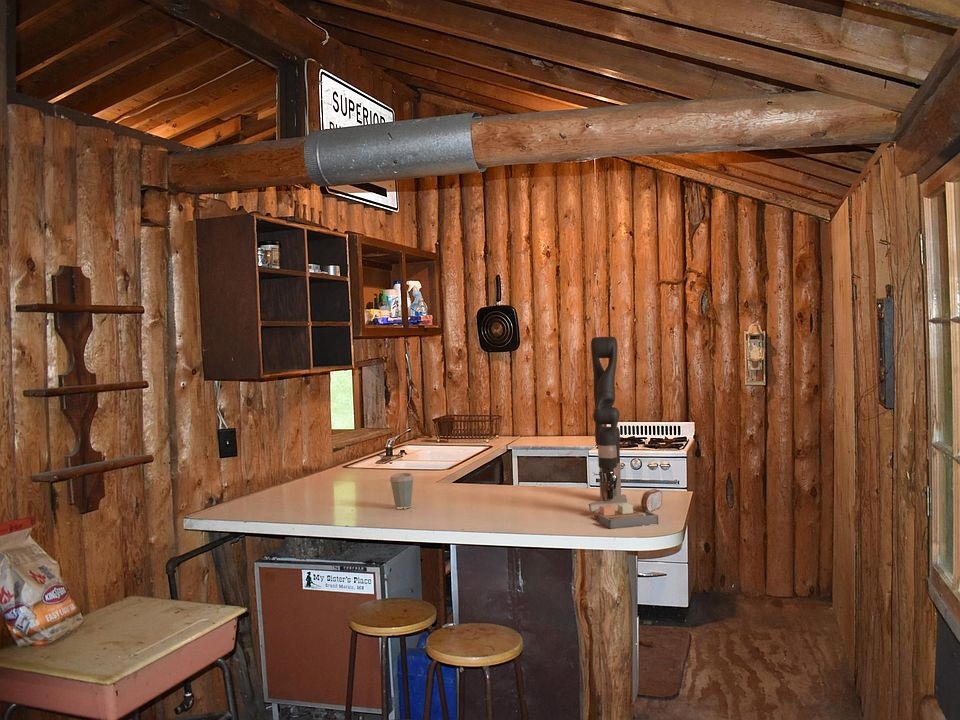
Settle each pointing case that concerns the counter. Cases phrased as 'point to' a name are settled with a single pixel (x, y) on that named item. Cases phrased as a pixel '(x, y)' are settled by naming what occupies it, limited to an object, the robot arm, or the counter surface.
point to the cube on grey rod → (606, 501)
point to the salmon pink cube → (606, 510)
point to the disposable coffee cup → (402, 489)
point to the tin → (651, 500)
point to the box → (629, 521)
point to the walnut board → (618, 515)
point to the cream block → (625, 508)
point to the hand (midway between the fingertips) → (608, 497)
